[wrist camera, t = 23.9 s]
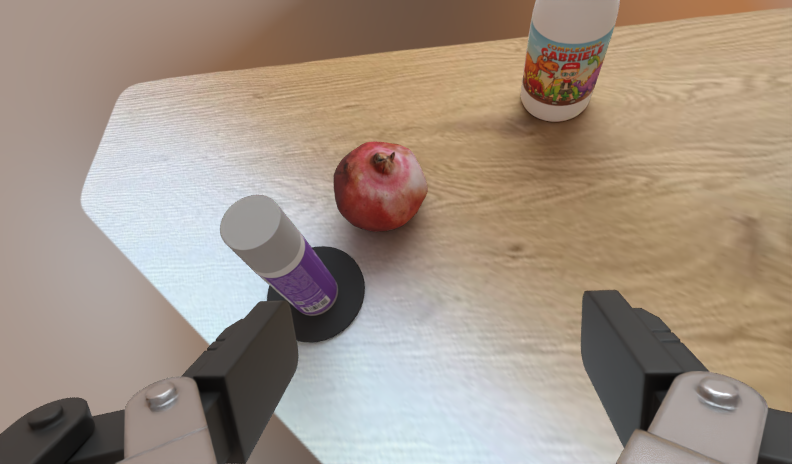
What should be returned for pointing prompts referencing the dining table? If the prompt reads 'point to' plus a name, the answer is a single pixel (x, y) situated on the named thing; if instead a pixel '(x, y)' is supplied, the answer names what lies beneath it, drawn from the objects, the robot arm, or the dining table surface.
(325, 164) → the dining table surface
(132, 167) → the dining table surface
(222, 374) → the robot arm
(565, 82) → the milk bottle
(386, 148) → the fruit
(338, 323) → the coaster
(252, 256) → the container
